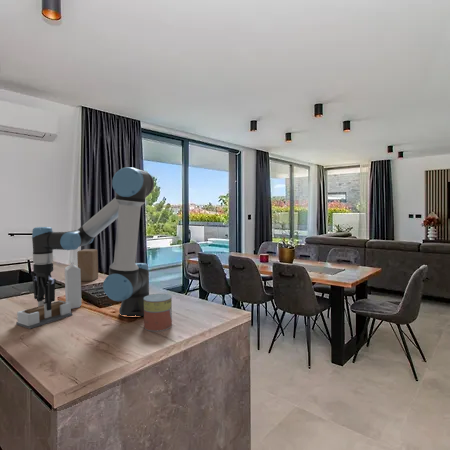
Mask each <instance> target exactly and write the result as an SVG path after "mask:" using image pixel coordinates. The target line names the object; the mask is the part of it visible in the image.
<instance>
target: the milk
mask: <svg viewBox="0 0 450 450" xmlns="http://www.w3.org/2000/svg"><path fill="white" fill-rule="evenodd" d="M64 289H65V290H64V291H65V292H64V293H65V302H69V303H71V310H72V309H77V308H81V307H80V306H81V305H83V304H82V281H81V272H80V268H78V266H76V265H75V264H74V262H73V261H70V264H69V265H68V266H66V267H64Z"/></svg>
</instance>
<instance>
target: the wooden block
mask: <svg viewBox="0 0 450 450" xmlns="http://www.w3.org/2000/svg"><path fill="white" fill-rule="evenodd" d="M76 254H77V267H78V268H80V272H81V282H94V281H95V280H97V279H98V278H99V259H98V258H99V256H98V255H99V254H98V249H97V248H95V249H94V248H83V249H81V250H77V253H76Z"/></svg>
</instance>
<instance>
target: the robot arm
mask: <svg viewBox="0 0 450 450" xmlns="http://www.w3.org/2000/svg"><path fill="white" fill-rule="evenodd" d="M111 185H112V189H113V190H114V193H115V197H113V199H112V200H110V201H109V202H108V203H107V204H106V205H105V206H103V207H102V208H101V209H100V210H99V211H98V212H96V213H95V214H94V215H93V216H92V217H91V218H89V219H88V220H87V221H86V222H85V223H84V224H82V225H81V226H79V228H78V229H77V230H76V229H75V230H70V231H68V230H67V231H53V228H52V227H51V226H37V227H33V229H32V231H31V235H32V236H31V239H32V241H31V242H32V263H33V265H32V269H33V270H32V271H33V273H34V274H35V276H32V277H31V280H32V283H33V284H32V285H33V299H34V300H36V301H37V307H39V306H43V305H44V318H49V317H52V316H51V303H52V302H56V301H55V300H56V299H55V298H56V281H57V280H56V278H53V277H52V272H53V271H54V263H53V262H54V254H53V252H54V250H57V251H59V250H62V251H63V250H64V251H75V250H78V249H79V248H80V247H86V246H88V245H90V244H92V243H93V242H94V240H95V237H96V236H98V235H99V234H100V233H101V232H103V231H104V230H105V229H106V228H107V227H109V226H110V225H111V224H112V223H114V222H115V220H117V225H116V233H115V244H114V257H113V262H112V263H111V264H110V265H109V268H108V276H106V277H105V278H104V280H103V284H102V288H103V292H104V294H105V295H106V296H107V297H108V298H109V299H110V300H111V301H114V302H121V304H120V307H119V310H118V314H119V313H120V314H121V315H127V316H135V315H136V316H143V317H142V318H144V299H143V298H144V297H145V296H148V295H150V270H149V265H148V263H146V262H136V261H137V260H136V258H137V249H138V238H139V228H140V219H141V208H142V206H143V205H144V204H145V203H146V198H148V196H149V195H151V193H152V192H153V191H154V186H155V180H154V178H153V177H152V175H151V174H150V173H149V172H148V171H146V170H143V169H139V168H136V167H128V166H126V167H122V168H120V169H118V171H116V172H115V174H114V175H113V177H112V181H111Z"/></svg>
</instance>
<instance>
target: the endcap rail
mask: <svg viewBox="0 0 450 450" xmlns="http://www.w3.org/2000/svg"><path fill="white" fill-rule="evenodd" d="M57 301H59V302H63V304H62V305H60V314H59V315H56V316H53V317H50V318H47V319H43V320H40V321H39V312H34V313H30V314H28V313H25V310H28V309H27V308H26V309H24V310H20V311H19V310H18V311H17V312H16V315H17V321H16V323H15V324H16V325H17V326H20V327H22V328H26V329H30V330H31V329H34V328H38V327H40V326H43V325H46V324H50V323H53V322H56V321H58V320H59V321H60V320H62V319H66V318H69V317H71V316H73V312H72V309H71V303H69V302H66V301H64V300H56V301H53V302H51V303H54V302H57Z"/></svg>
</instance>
